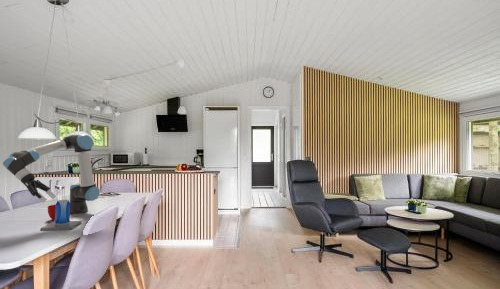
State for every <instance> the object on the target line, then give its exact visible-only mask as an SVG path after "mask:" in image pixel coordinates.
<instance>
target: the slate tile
mask: <svg viewBox="0 0 500 289" xmlns="http://www.w3.org/2000/svg"><path fill="white" fill-rule="evenodd" d="M82 222H83V221H82V220H70V222H69V223H68V224H67V225H61V226H58V225H56V224H55V220H53V221H51V222H50V223H48V224H46V225H44V226H42V227H40V231H71V230H73V229H74V228H76V227H78V226H80V225H81V224H82Z"/></svg>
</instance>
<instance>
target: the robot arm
mask: <svg viewBox="0 0 500 289" xmlns="http://www.w3.org/2000/svg"><path fill="white" fill-rule="evenodd" d="M93 146H94V140H93V138H92V137H91V135H89V134H83V133H82V134H71V135H67V136H64V137H61V138H59V139H58V140H56V141H53V142H52V141H51V142H49V143H45V144H42V145H38V146H33V147H31V148H28V149H25V150H21V151H16V152H11V153H10V155H9V156H8V157H7V158H5V159H4V160H3V162H2V165H3V166H4V167H5V169H6V170H7V171H9V172H10V173H11V174H12V175H14V177H16V178H15V179H17V180H19V181H20V183H22V184H23V185H24V186H25V187H26V189H27V190H28V192H29V193H30V195H32V197H36V198H37V199H38V200H40V201H41V203H45V202H46V201H47V200H48V198H46V197H45V196H44V195H43V194H42V193H41V192H39V191H38V189H39V190H42V191H43V192H45V193H46V194H47V196H48V197H50V198H51V199H52V200H54V199H55V198H56V197H57V195H55V193H54V192H53V191H51V188H50V187H49V186H48V185H46V184H45V183H43V182H41V181H40V180H38V179H35V178H36V176H35V175H34V174H33V173H31V171H30V170H29V169H28V168H26V167H28V166H29V165H31V164H34V162H37V161H38V160H39V159H40V158H41V157H42V156H45V155H49V154H53V153H56V152H59V151H67V150H74V153H75V154H77V161H78V168H79V176H80V183H77V184H71V185H70V188H69V202H70V209H71V211H70V214H82V213H87V212H89V208H88V205H87V202H92V201H93V202H94V201H95V200H97V199H98V197H100V194H101V190H100V188H99V187H98V186H97V183H96V181H94V174H93V168H92V161H91V154H90V153H91V151H92V148H93Z"/></svg>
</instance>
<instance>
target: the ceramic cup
mask: <svg viewBox="0 0 500 289" xmlns="http://www.w3.org/2000/svg"><path fill="white" fill-rule="evenodd" d="M55 205H56V204H51V205H48V206H47V213H48V216H49V218H51V220H53V221H55ZM70 211H71V209H70Z"/></svg>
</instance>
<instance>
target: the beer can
mask: <svg viewBox="0 0 500 289" xmlns="http://www.w3.org/2000/svg"><path fill="white" fill-rule="evenodd" d="M54 205H55V220H54V221H55V224H56V225H58V226H61V225H67V224H68V223H69V222H70V221H71V220H70V215H71V213H70V199H58V200H57V201H56V203H55V204H54Z"/></svg>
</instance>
